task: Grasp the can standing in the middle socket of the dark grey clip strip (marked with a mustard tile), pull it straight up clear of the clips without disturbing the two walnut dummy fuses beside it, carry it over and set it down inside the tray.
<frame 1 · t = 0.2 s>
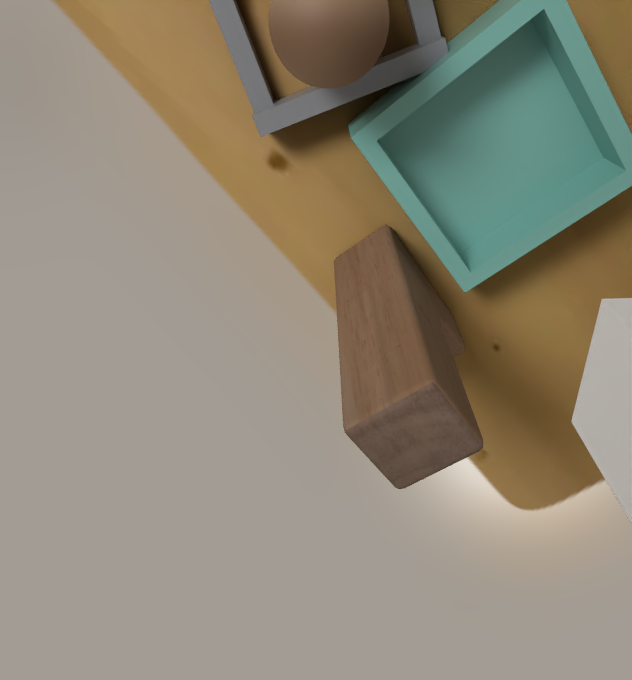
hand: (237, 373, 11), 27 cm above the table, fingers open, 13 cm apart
wooden block: (394, 287, 40), on the table
tray: (485, 140, 35), on the table
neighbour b: (326, 15, 31), resting in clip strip
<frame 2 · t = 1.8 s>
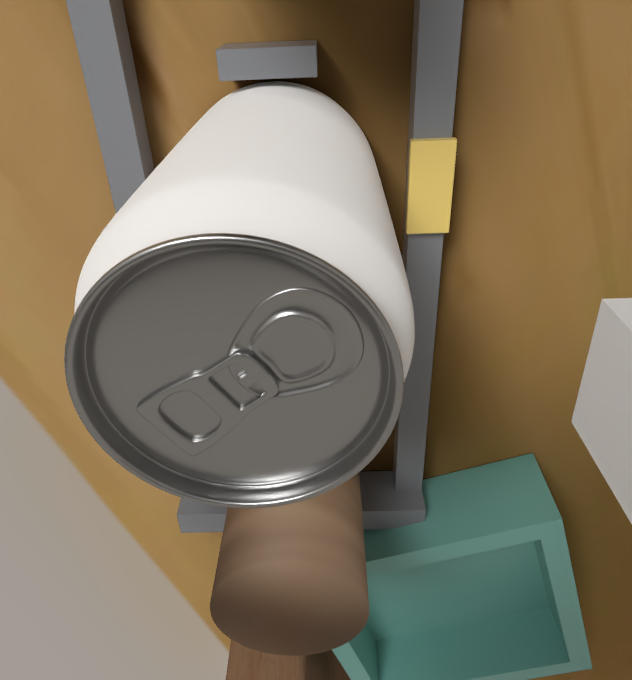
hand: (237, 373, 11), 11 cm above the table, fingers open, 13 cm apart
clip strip: (280, 180, 20), on the table
wooden block: (295, 637, 35), on the table
tray: (436, 558, 30), on the table
can: (281, 178, 20), resting in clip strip
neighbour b: (299, 423, 25), resting in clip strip
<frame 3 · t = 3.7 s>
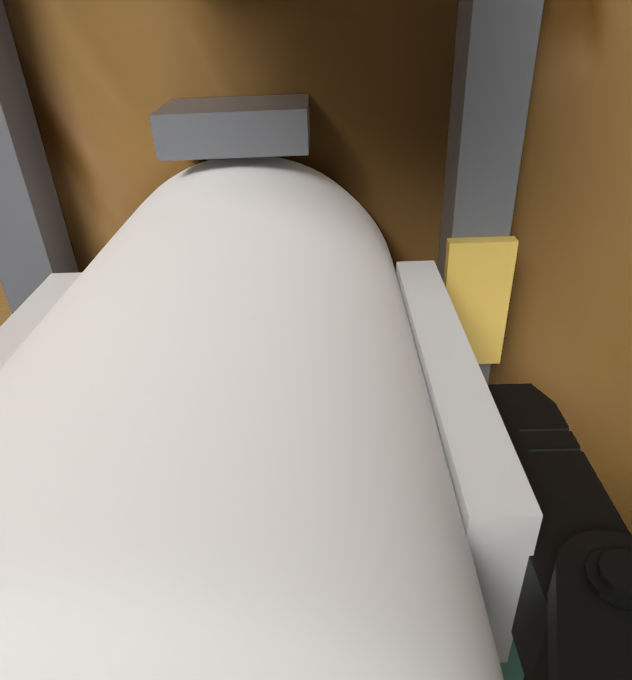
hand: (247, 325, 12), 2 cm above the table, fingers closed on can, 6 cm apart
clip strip: (258, 284, 14), on the table
can: (259, 281, 14), resting in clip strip, touching gripper
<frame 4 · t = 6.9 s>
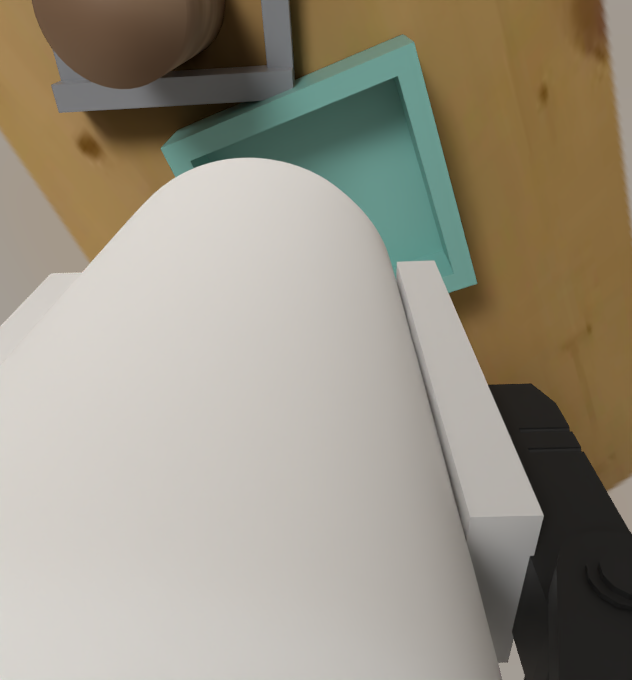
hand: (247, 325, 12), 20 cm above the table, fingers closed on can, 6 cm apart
tray: (328, 195, 31), on the table
can: (258, 284, 14), point 18 cm above the table, touching gripper
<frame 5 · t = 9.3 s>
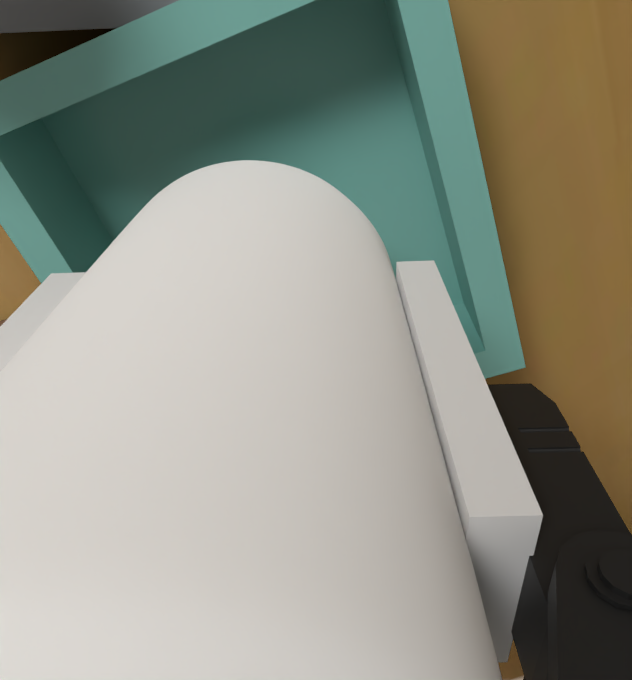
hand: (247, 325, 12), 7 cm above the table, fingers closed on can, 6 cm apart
tray: (271, 209, 18), on the table
can: (259, 286, 14), point 5 cm above the table, touching gripper
when the fingers open (5 cm above the table, at t = 10.7 s): can drops 2 cm, resting on tray.
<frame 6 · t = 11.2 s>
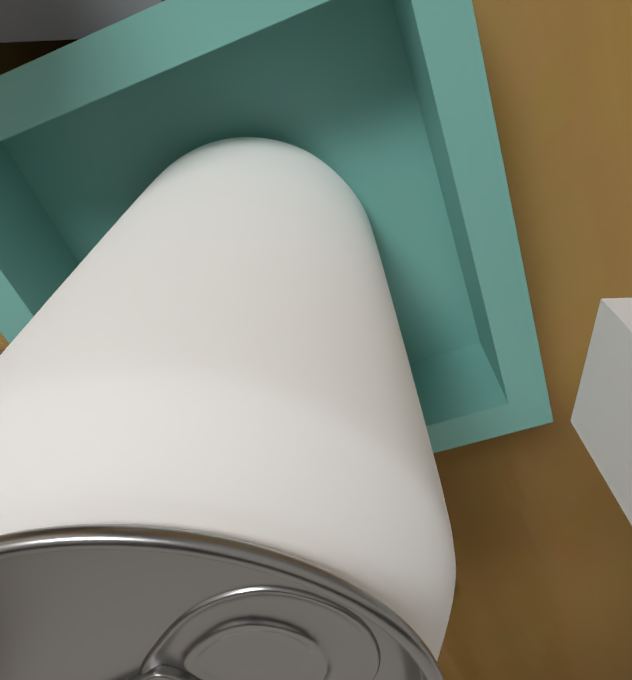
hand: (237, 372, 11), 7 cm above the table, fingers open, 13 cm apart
tray: (265, 239, 16), on the table
can: (256, 251, 16), point 1 cm above the table, touching tray
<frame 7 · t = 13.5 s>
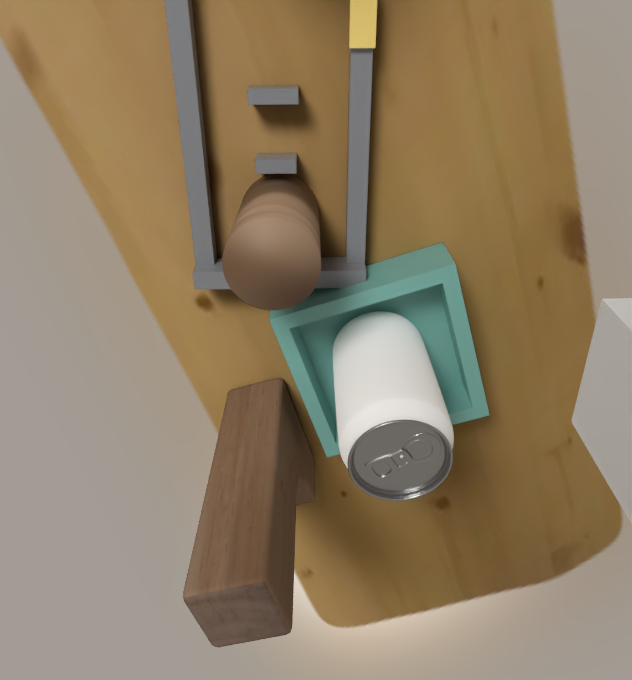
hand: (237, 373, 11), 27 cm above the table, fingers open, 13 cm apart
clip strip: (271, 16, 31), on the table
wooden block: (273, 425, 45), on the table
tray: (379, 341, 41), on the table
can: (376, 347, 41), point 1 cm above the table, touching tray
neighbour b: (280, 213, 37), resting in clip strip
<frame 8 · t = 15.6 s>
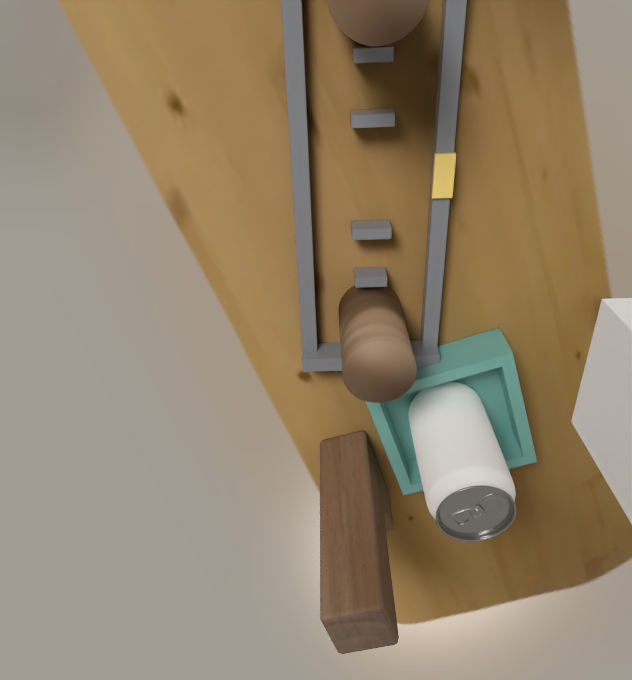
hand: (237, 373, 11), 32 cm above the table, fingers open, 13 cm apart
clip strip: (370, 173, 40), on the table
wooden block: (355, 466, 55), on the table
tray: (444, 402, 51), on the table
can: (443, 407, 50), point 1 cm above the table, touching tray
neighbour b: (369, 309, 46), resting in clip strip
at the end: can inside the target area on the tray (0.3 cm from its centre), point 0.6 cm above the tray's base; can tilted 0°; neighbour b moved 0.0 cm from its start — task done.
